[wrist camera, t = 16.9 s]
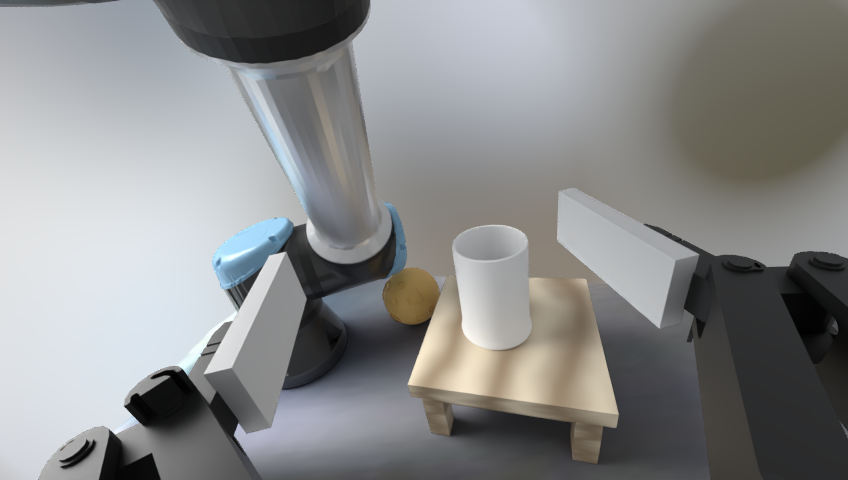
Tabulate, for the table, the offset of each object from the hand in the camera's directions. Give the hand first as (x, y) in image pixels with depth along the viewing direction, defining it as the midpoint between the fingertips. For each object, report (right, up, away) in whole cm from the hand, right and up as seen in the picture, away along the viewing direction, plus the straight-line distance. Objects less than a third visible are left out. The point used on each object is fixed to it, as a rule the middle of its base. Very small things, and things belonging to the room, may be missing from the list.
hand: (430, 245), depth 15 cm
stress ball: (-2, -14, +43) cm, 46 cm away
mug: (+10, -10, +26) cm, 29 cm away
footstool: (+12, -19, +29) cm, 37 cm away
